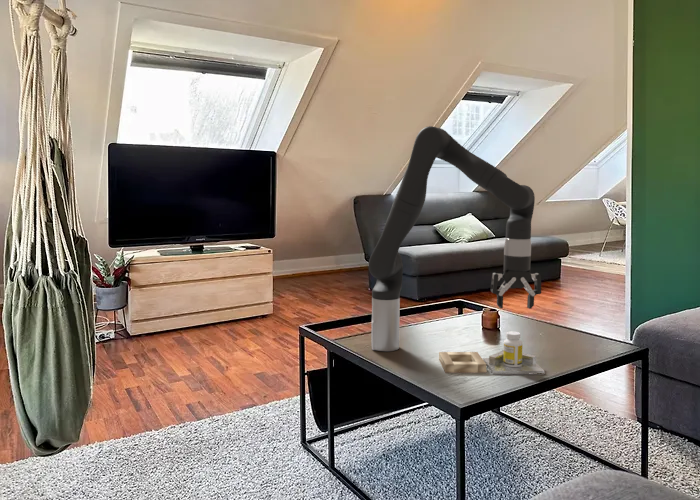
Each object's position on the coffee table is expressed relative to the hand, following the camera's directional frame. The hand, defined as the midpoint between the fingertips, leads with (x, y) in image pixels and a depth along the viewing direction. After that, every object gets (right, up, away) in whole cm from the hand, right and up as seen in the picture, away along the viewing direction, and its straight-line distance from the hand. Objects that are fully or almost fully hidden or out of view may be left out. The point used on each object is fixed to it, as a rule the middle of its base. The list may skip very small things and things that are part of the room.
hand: (515, 307), depth 168 cm
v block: (0, -18, +2) cm, 18 cm away
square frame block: (-15, -18, +4) cm, 24 cm away
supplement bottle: (0, -18, +2) cm, 18 cm away
